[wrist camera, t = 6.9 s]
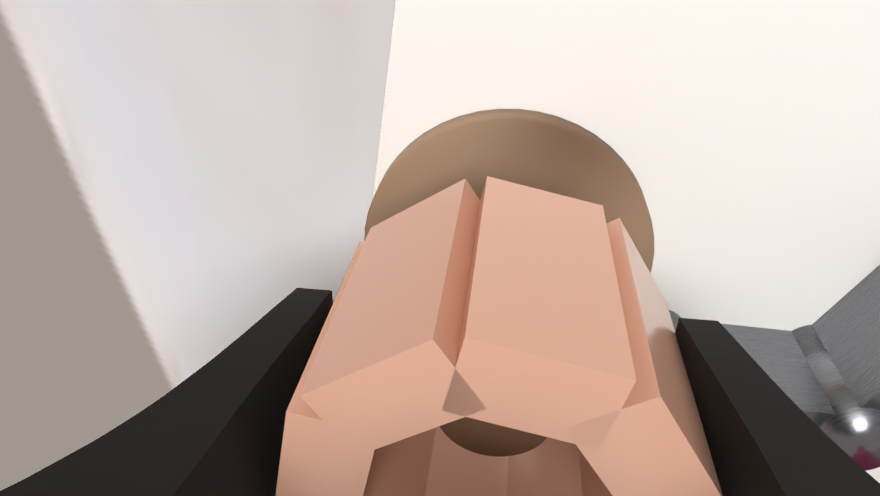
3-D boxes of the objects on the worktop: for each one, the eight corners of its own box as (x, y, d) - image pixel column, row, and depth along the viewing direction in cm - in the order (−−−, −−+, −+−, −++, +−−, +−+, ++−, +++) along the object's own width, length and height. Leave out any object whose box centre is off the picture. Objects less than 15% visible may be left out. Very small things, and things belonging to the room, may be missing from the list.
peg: (693, 141, 12) (777, 298, 8) (602, 370, 16) (628, 568, 11) (386, 81, 13) (310, 204, 8) (358, 320, 16) (293, 499, 12)
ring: (711, 232, 10) (797, 421, 7) (594, 456, 13) (615, 663, 10) (377, 148, 10) (300, 295, 7) (332, 390, 13) (264, 577, 10)
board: (1488, -211, 9) (1564, -215, 9) (892, 496, 18) (906, 521, 17) (450, -399, 10) (444, -418, 9) (355, 386, 18) (348, 407, 17)
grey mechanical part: (983, 224, 13) (1087, 312, 10) (860, 398, 15) (920, 501, 13) (688, 166, 13) (724, 239, 10) (615, 349, 15) (630, 441, 13)
